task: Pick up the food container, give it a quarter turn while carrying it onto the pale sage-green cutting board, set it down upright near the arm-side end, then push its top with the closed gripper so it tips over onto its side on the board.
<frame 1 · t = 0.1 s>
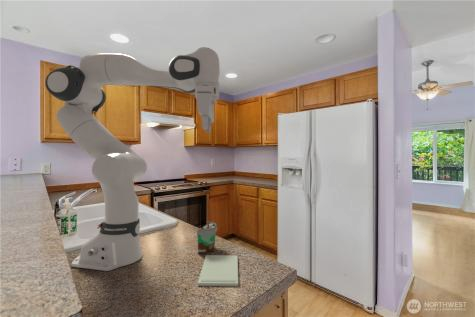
hand: (206, 131, 83), 48 cm above the counter, fingers open, 8 cm apart
food container: (209, 250, 92), on the counter
cutting board: (220, 269, 76), on the counter
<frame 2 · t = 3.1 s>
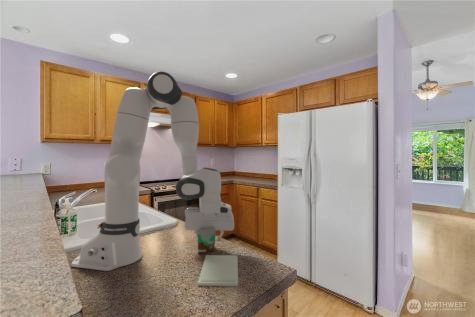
hand: (209, 240, 92), 4 cm above the counter, fingers open, 7 cm apart
food container: (209, 250, 92), on the counter, touching gripper
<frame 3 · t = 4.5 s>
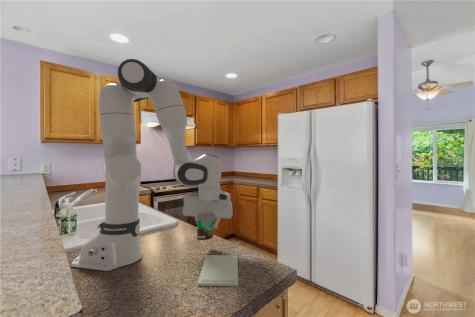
hand: (207, 227, 92), 9 cm above the counter, fingers closed on food container, 5 cm apart
food container: (208, 237, 92), point 5 cm above the counter, touching gripper
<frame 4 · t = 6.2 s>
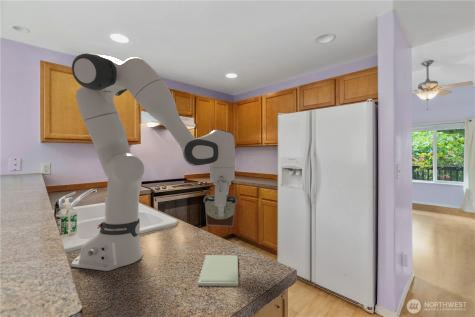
hand: (221, 213, 81), 18 cm above the counter, fingers closed on food container, 5 cm apart
food container: (221, 223, 81), point 14 cm above the counter, touching gripper
when the fingers open (6 cm above the counter, at t = 8.3 s): food container drops 1 cm, resting on cutting board.
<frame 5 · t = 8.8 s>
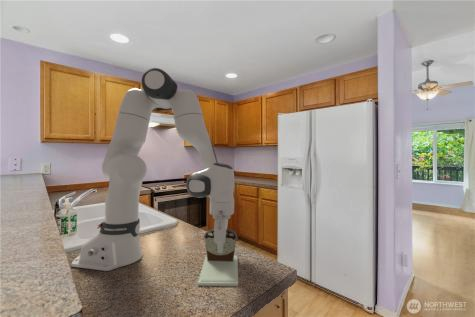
hand: (221, 246, 81), 6 cm above the counter, fingers open, 8 cm apart
food container: (221, 257, 83), point 1 cm above the counter, touching cutting board, gripper
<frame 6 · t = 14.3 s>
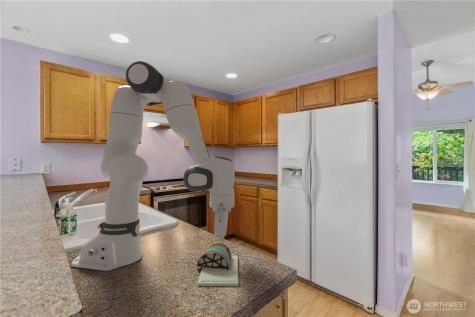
hand: (221, 240, 80), 8 cm above the counter, fingers closed
food container: (219, 248, 85), point 4 cm above the counter, touching cutting board
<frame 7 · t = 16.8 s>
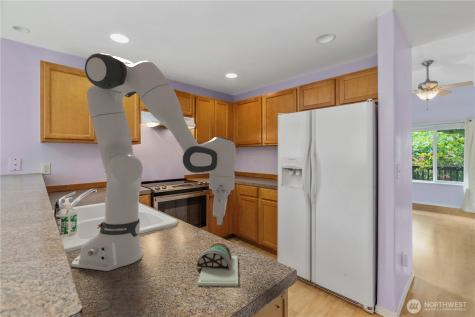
hand: (219, 223, 78), 15 cm above the counter, fingers closed
nothing on the counter moved.
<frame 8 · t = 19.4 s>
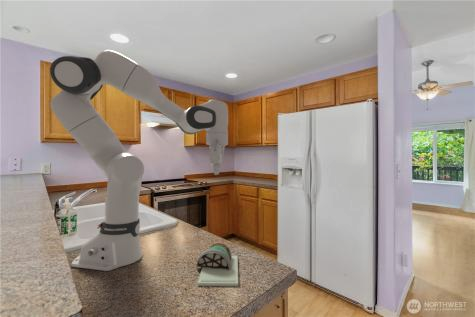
hand: (216, 174, 91), 31 cm above the counter, fingers closed
nothing on the counter moved.
at the end: food container tilted 90°; food container inside the target area on the cutting board (8.8 cm from its centre), point 3.9 cm above the cutting board's base; the gripper is holding nothing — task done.
